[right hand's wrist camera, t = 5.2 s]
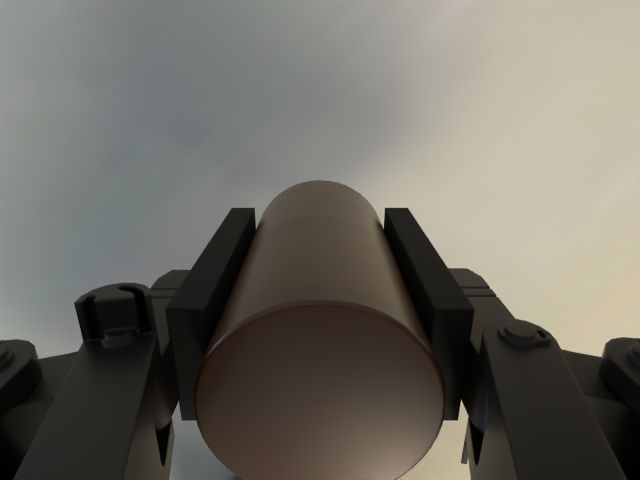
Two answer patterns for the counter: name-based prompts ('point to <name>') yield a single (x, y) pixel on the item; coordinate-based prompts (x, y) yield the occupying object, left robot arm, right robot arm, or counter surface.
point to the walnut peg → (319, 350)
